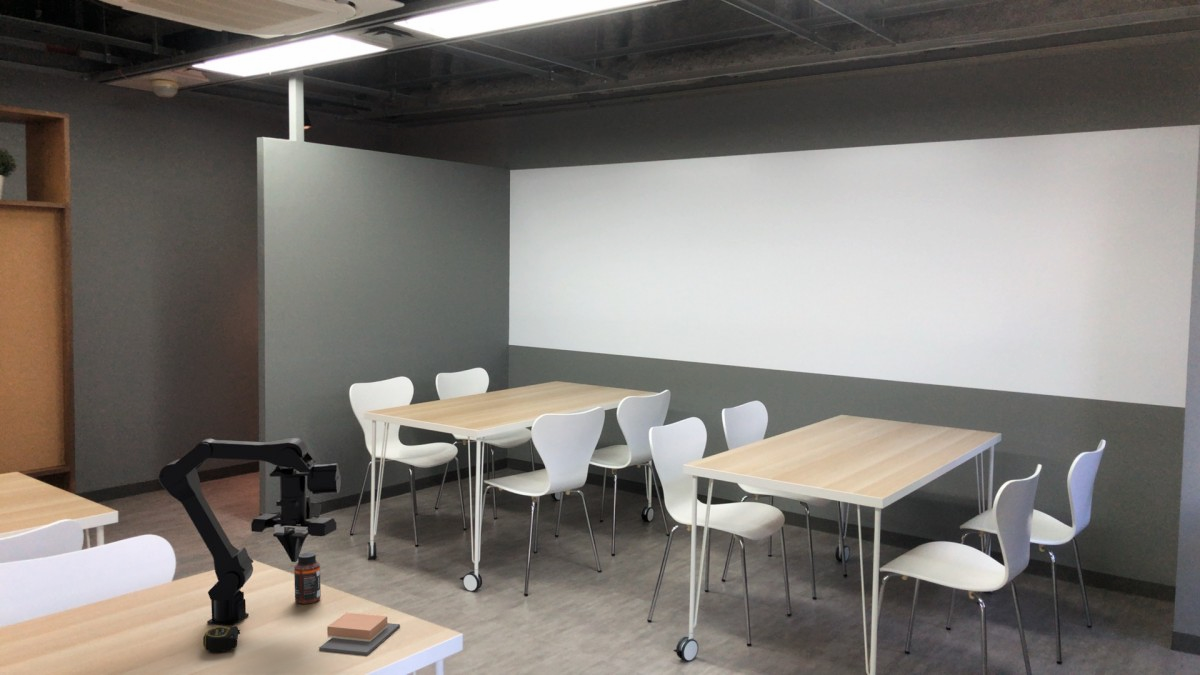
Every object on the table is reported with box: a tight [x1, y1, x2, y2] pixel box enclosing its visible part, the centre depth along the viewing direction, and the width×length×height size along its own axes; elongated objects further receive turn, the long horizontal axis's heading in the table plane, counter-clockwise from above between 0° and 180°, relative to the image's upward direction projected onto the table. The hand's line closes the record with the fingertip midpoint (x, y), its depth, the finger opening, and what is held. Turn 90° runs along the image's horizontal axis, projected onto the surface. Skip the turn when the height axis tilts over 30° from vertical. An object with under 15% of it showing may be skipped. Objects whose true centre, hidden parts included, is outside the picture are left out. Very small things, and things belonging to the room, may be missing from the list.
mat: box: [318, 622, 401, 656], centre depth 184 cm, size 11×15×1 cm
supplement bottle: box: [293, 551, 322, 605], centre depth 205 cm, size 6×6×11 cm
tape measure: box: [202, 625, 241, 653], centre depth 178 cm, size 7×7×4 cm
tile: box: [326, 612, 388, 642], centre depth 185 cm, size 2×8×10 cm
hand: (294, 561), depth 195 cm, fingers closed
